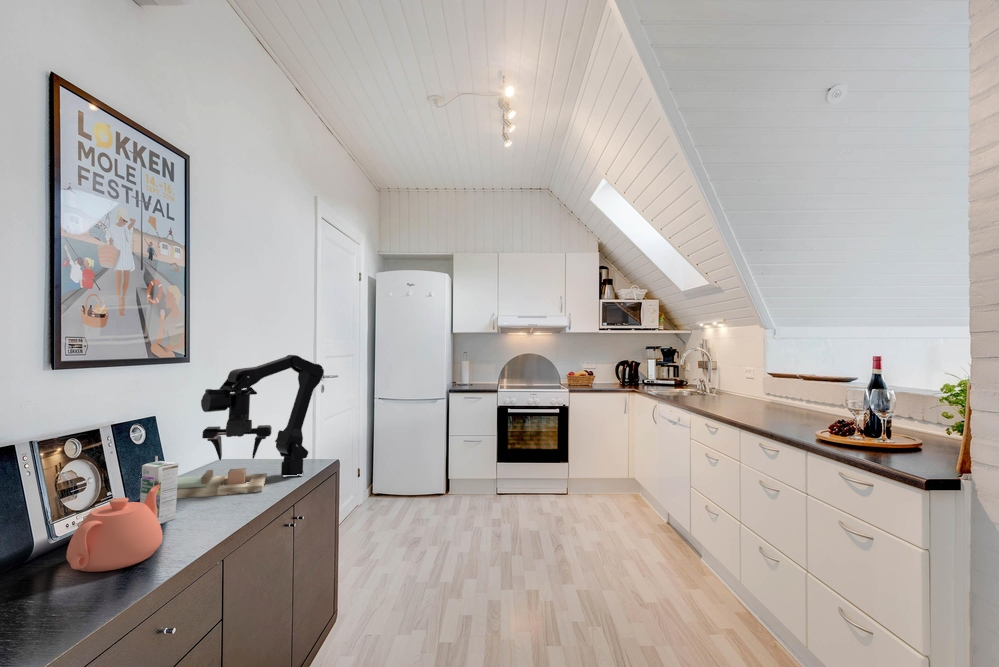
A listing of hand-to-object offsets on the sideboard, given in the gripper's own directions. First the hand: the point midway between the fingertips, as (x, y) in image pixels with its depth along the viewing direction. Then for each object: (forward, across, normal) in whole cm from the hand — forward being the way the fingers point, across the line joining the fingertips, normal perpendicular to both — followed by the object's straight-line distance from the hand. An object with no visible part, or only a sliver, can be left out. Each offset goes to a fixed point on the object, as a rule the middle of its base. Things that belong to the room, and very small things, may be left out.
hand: (237, 459), depth 153 cm
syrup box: (+9, -14, -27) cm, 32 cm away
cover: (+7, -13, 0) cm, 14 cm away
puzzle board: (+9, -4, 0) cm, 10 cm away
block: (+8, 0, 0) cm, 9 cm away
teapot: (+9, -15, -49) cm, 52 cm away
